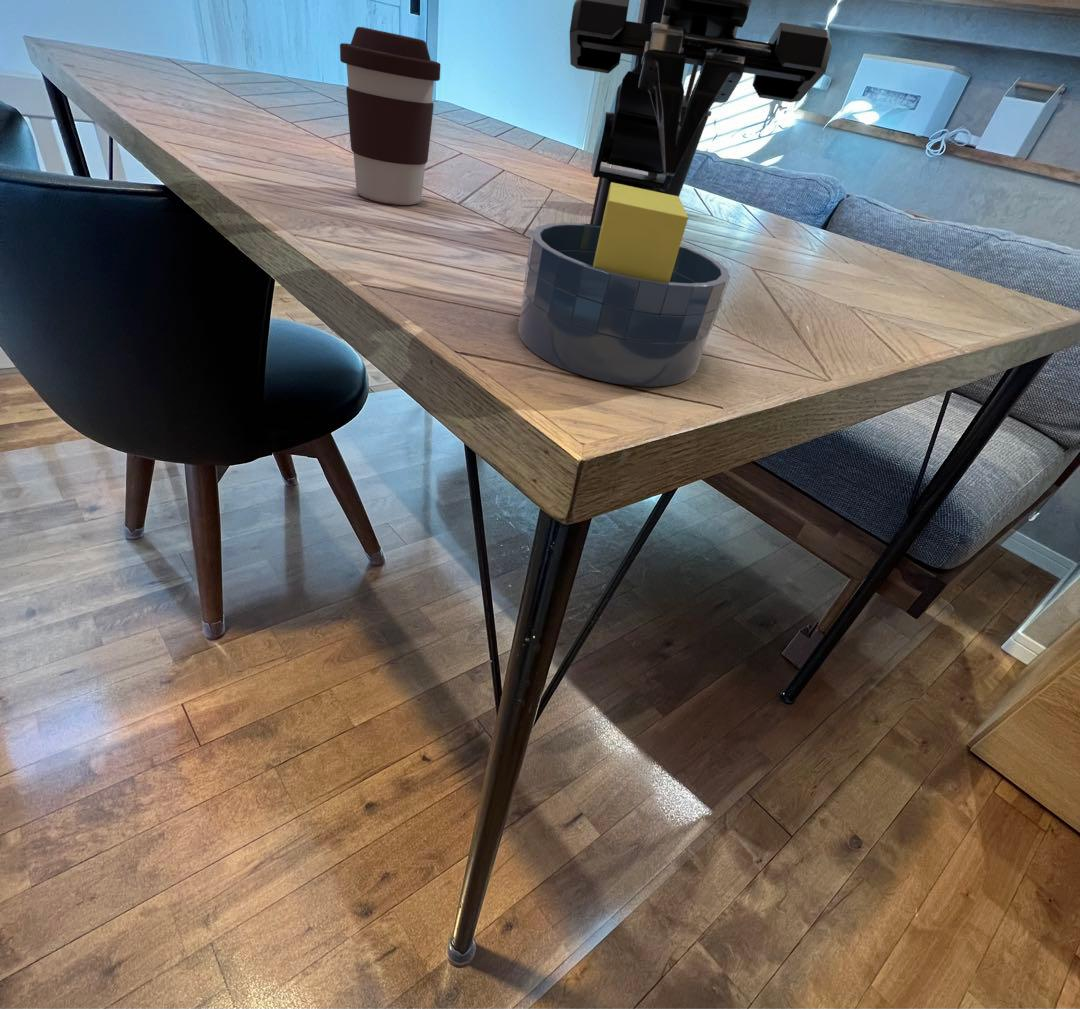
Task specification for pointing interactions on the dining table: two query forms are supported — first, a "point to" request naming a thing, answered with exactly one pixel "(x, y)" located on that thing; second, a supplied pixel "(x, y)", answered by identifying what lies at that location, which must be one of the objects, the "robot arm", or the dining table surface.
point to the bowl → (616, 311)
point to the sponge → (640, 233)
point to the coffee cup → (389, 113)
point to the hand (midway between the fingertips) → (669, 174)
